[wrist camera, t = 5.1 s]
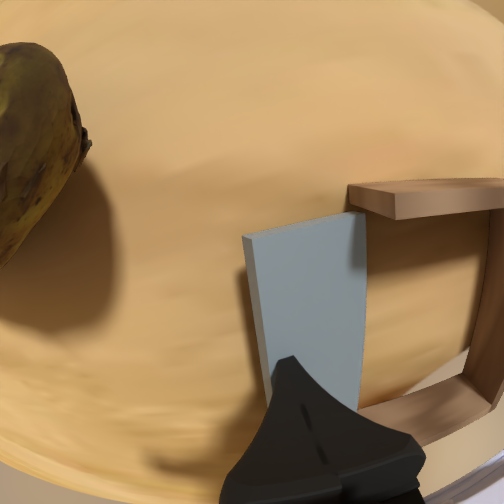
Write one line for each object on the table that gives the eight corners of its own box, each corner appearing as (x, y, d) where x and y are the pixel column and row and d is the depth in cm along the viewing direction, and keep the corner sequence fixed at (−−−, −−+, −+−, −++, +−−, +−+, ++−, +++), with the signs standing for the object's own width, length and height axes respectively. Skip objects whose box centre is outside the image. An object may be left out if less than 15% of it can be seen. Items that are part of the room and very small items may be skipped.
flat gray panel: (365, 213, 11) (251, 239, 9) (355, 418, 14) (281, 459, 12) (351, 211, 12) (241, 235, 10) (347, 411, 15) (274, 450, 13)
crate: (497, 178, 12) (548, 187, 8) (466, 377, 16) (495, 408, 12) (348, 184, 12) (394, 193, 8) (345, 420, 16) (363, 468, 12)
